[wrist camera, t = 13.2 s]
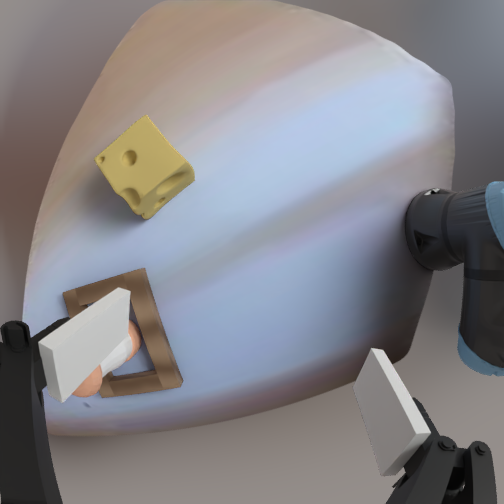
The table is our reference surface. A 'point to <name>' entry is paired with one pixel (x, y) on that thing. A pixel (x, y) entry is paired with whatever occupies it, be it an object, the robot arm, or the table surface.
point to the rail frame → (149, 326)
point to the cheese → (144, 168)
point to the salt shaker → (111, 362)
